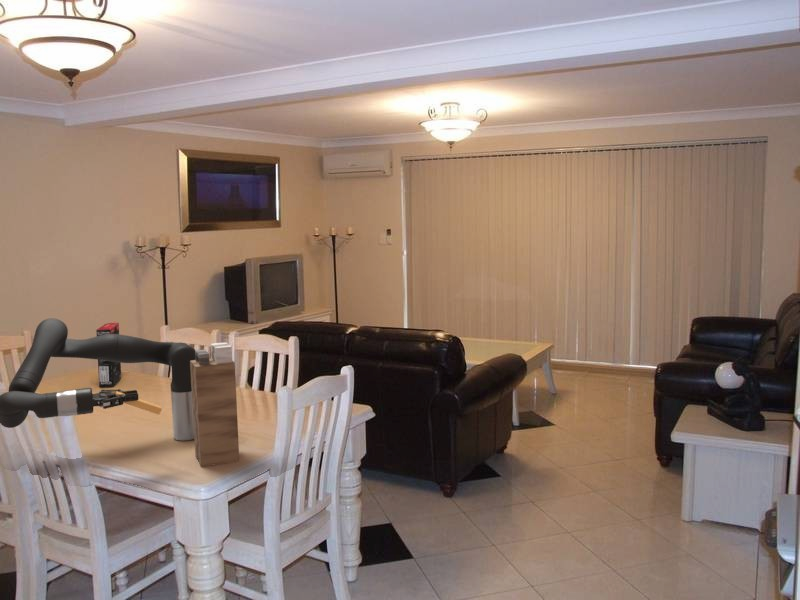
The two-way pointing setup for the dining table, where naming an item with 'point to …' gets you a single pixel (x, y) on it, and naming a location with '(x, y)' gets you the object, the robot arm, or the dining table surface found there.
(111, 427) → the dining table surface
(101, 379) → the graphics card box
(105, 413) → the dining table surface
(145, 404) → the block
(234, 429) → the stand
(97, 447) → the dining table surface
